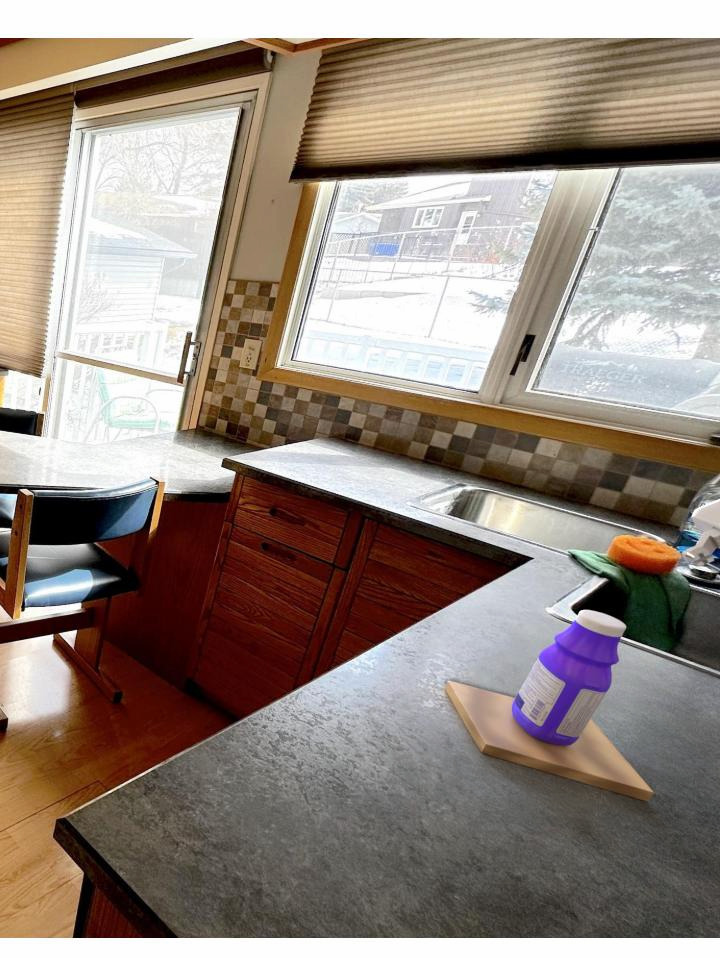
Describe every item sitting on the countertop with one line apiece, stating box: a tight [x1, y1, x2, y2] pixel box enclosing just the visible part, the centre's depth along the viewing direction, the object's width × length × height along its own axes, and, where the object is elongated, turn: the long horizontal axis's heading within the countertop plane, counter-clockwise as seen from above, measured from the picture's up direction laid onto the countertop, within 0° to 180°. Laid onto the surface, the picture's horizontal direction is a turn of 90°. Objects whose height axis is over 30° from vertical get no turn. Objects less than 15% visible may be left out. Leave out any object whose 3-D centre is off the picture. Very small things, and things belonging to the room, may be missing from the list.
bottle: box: [512, 609, 627, 746], centre depth 77 cm, size 7×6×17 cm
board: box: [444, 680, 655, 803], centre depth 81 cm, size 16×14×2 cm
